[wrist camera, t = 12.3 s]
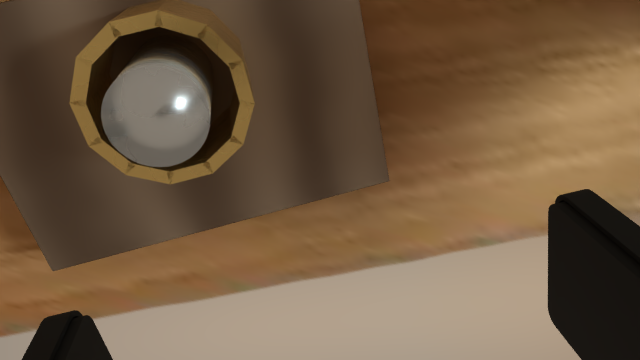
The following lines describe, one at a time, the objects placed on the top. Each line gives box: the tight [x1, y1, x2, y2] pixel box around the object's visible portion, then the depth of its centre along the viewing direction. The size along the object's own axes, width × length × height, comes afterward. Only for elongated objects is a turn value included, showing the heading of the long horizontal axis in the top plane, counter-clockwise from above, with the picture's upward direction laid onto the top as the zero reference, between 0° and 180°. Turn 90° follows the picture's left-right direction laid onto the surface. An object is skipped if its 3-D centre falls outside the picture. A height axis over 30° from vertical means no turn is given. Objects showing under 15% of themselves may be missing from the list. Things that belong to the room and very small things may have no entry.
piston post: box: [101, 35, 213, 167], centre depth 23 cm, size 4×4×7 cm
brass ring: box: [69, 0, 255, 184], centre depth 24 cm, size 7×7×5 cm
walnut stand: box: [0, 0, 389, 271], centre depth 28 cm, size 20×14×3 cm
